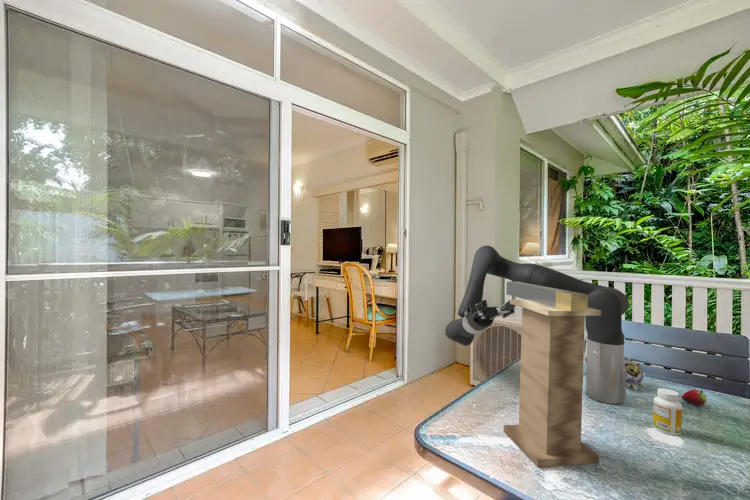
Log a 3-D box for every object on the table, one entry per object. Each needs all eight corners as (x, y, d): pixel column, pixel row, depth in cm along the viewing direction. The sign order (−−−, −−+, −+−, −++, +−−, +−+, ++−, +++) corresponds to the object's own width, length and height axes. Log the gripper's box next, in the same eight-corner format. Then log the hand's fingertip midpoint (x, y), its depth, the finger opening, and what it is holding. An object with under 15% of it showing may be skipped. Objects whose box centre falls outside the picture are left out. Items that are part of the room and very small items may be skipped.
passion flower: (633, 406, 106) (627, 381, 102) (599, 386, 116) (593, 363, 112) (655, 384, 109) (650, 359, 104) (620, 367, 119) (614, 343, 114)
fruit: (685, 398, 101) (685, 382, 101) (710, 408, 95) (711, 390, 95) (676, 400, 99) (677, 384, 99) (702, 410, 94) (702, 392, 94)
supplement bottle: (674, 426, 84) (675, 388, 84) (686, 438, 79) (687, 397, 79) (648, 422, 86) (650, 385, 86) (658, 433, 81) (660, 394, 81)
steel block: (518, 294, 90) (518, 281, 90) (587, 311, 66) (587, 294, 66) (505, 294, 90) (506, 281, 90) (570, 311, 66) (571, 294, 66)
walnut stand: (554, 427, 82) (558, 299, 82) (600, 463, 69) (605, 310, 68) (502, 430, 80) (506, 299, 80) (539, 468, 66) (543, 310, 66)
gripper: (455, 309, 111) (474, 290, 97) (494, 309, 113) (518, 291, 99) (458, 331, 108) (479, 315, 94) (499, 330, 110) (525, 315, 96)
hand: (499, 302), depth 96 cm, fingers open, 8 cm apart
